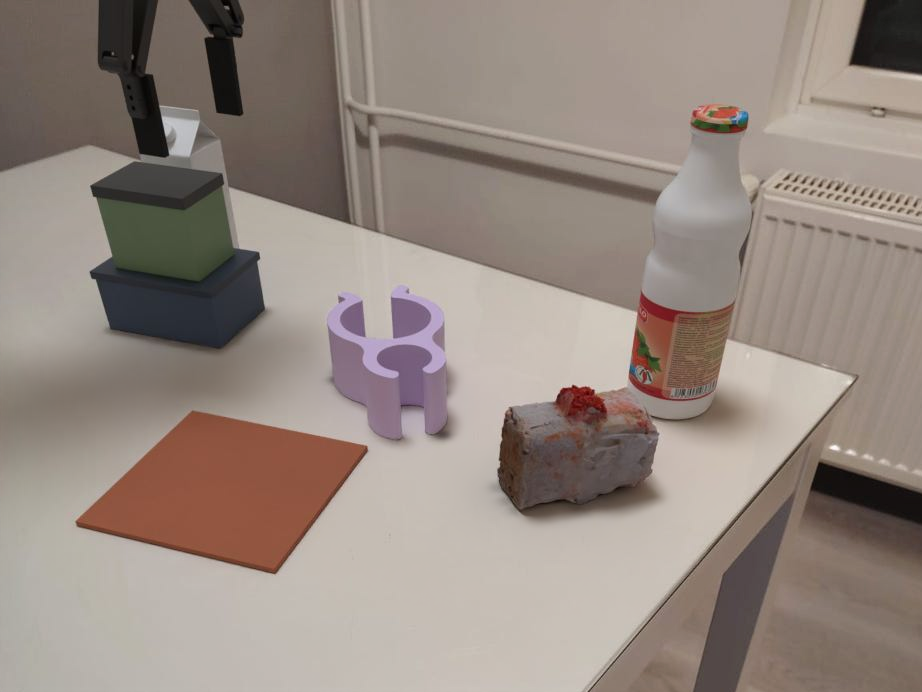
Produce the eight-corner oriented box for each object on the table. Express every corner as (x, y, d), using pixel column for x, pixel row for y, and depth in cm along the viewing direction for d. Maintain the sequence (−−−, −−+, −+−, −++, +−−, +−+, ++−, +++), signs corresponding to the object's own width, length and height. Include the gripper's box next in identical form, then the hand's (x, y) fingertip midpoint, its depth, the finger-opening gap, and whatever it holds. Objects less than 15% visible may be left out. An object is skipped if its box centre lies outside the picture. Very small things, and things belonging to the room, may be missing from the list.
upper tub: (112, 268, 103) (89, 185, 97) (153, 241, 109) (134, 160, 102) (200, 283, 101) (182, 198, 94) (237, 254, 106) (222, 173, 100)
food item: (617, 449, 91) (630, 360, 84) (655, 494, 86) (672, 402, 79) (492, 475, 87) (494, 384, 80) (522, 523, 82) (528, 430, 75)
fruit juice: (701, 429, 94) (766, 134, 74) (615, 410, 96) (654, 119, 76) (720, 387, 100) (784, 103, 80) (638, 370, 102) (680, 91, 82)
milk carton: (196, 252, 124) (163, 96, 110) (242, 259, 122) (214, 102, 108) (167, 272, 119) (129, 112, 105) (214, 281, 117) (181, 119, 104)
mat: (76, 525, 81) (74, 521, 81) (193, 414, 95) (192, 410, 94) (275, 573, 77) (274, 569, 77) (368, 449, 90) (367, 445, 90)
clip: (473, 428, 93) (474, 367, 88) (355, 445, 91) (349, 383, 86) (428, 339, 107) (426, 282, 102) (323, 352, 104) (316, 294, 99)
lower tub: (106, 329, 108) (88, 271, 103) (159, 289, 115) (146, 233, 110) (221, 350, 104) (209, 291, 99) (268, 308, 112) (259, 251, 107)
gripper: (84, -141, 63) (154, 180, 78) (258, -166, 80) (288, 103, 95) (-5, -148, 65) (81, 168, 80) (184, -171, 81) (226, 94, 96)
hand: (194, 133), depth 87 cm, fingers open, 13 cm apart
